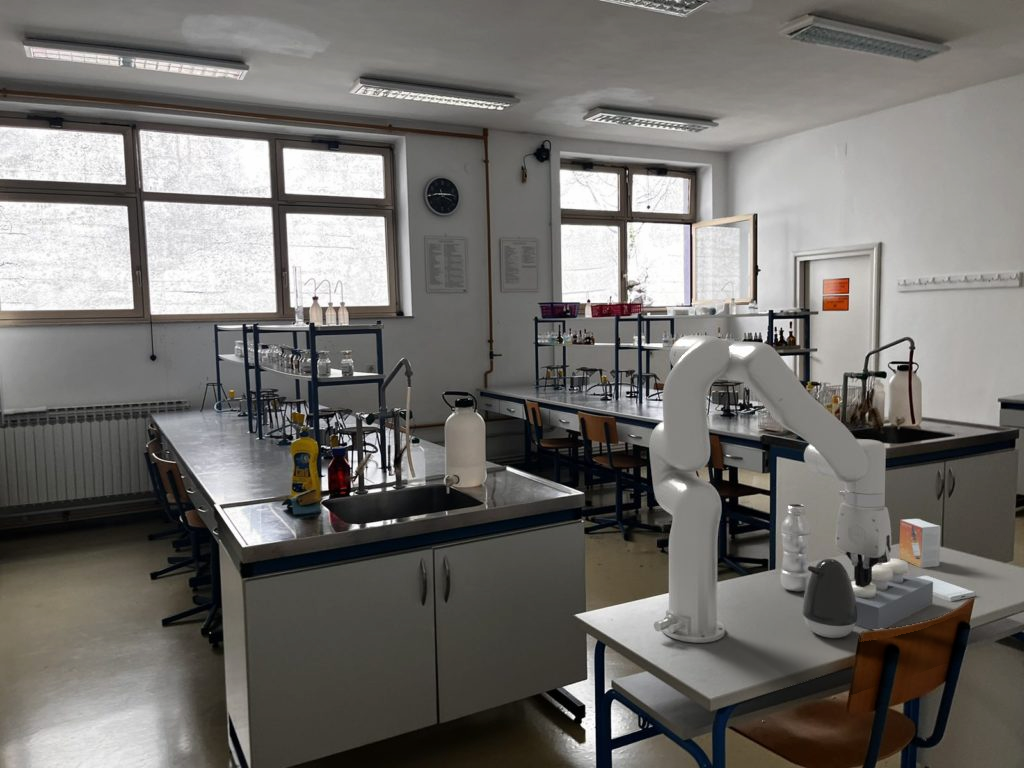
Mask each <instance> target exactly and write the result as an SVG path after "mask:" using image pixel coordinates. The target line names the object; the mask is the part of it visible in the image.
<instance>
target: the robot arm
mask: <svg viewBox="0 0 1024 768" xmlns="http://www.w3.org/2000/svg"><path fill="white" fill-rule="evenodd" d="M669 360H670V364H671V365H672V369H671V370H670V372H669V373H668V375H667V377H666V380H665V381H664V385H663V390H662V417H663V418H662V420H663V421H661V422H659V423H658V424H657V425H656V426H655V427H654V429H653V430H652V432H651V435H650V438H649V446H648V447H649V449H648V450H649V461H650V469H651V477H652V478H651V479H652V487H653V493H654V497H655V500H656V502H657V503H658V504H659V506H660V507H661V508H662V509H663V510H664V511H666V513H668V514H669V515H671V517H672V521H671V522H672V523H671V528H670V531H669V532H670V533H669V538H668V610H666V611H665V617H663V619H661V620H658V621H655V622H654V623H653V628H654V630H655V631H656V632H658V633H659V632H662V633H664V634H665V635H666V636H667V637H669V638H672V639H674V640H677V641H680V642H685V643H692V644H693V643H696V644H697V643H699V644H701V643H702V644H704V643H712V642H715V641H717V640H720V639H721V638H723V637H724V636H725V633H726V631H725V630H726V628H725V625H724V624H723V622H721V621H720V620H718V538H719V537H718V536H719V528H720V527H719V526H720V521H721V516H722V511H723V510H722V500H721V496H720V494H719V492H718V491H717V489H716V487H714V485H712V484H711V482H708V481H707V480H705V479H704V478H702V477H700V476H697V475H696V472H697V471H700V470H702V469H704V468H705V467H706V465H707V464H708V462H709V461H710V457H711V442H710V432H709V425H708V424H709V423H708V413H707V411H708V410H707V400H708V399H707V398H708V393H709V390H710V388H711V387H712V385H713V384H714V382H715V381H716V380H723V381H733V382H734V381H735V382H742V383H745V384H746V385H747V386H748V387H749V389H750V390H751V392H752V393H753V394H754V395H755V397H756V398H757V399H758V401H759V402H760V404H761V405H762V406H763V407H764V408H765V410H766V411H767V412H768V413H769V415H770V416H771V417H772V418H773V420H775V421H776V423H778V424H779V425H781V427H784V428H785V429H787V430H788V431H791V432H792V433H794V434H796V435H797V436H799V437H800V438H801V439H803V440H804V441H806V442H807V443H808V445H807V446H806V447H805V450H804V452H803V460H804V462H805V465H806V466H807V468H809V469H810V470H811V471H812V472H814V473H816V474H818V475H820V476H824V477H827V478H830V479H834V480H837V481H839V482H842V483H844V484H845V485H844V486H845V487H844V489H840V490H839V496H841V497H843V498H844V499H843V502H841V503H840V505H839V510H838V513H837V519H836V527H835V538H834V539H835V541H834V543H835V547H836V548H837V551H838V552H839V553H840V554H843V555H844V556H846V557H847V558H848V559H849V560H850V561H851V565H852V566H853V568H854V570H853V571H854V572H853V573H854V575H853V579H855V585H857V586H859V585H860V586H861V587H865V586H867V585H870V583H871V581H872V567H873V566H875V565H878V564H882V563H887V562H890V558H891V556H890V553H891V550H892V527H891V520H890V513H889V510H888V507H886V506H885V502H886V501H885V498H886V497H885V495H886V491H885V490H886V458H887V457H886V455H887V451H886V445H885V444H884V443H883V442H882V441H880V440H875V439H865V438H864V439H862V438H860V439H859V438H858V439H857V438H856V437H855V436H854V435H853V433H852V432H851V431H850V430H849V428H847V426H846V425H845V424H844V423H842V421H840V419H838V418H837V417H836V416H835V415H834V414H833V413H831V411H829V410H828V409H827V408H825V407H824V405H822V404H821V403H820V402H819V401H817V400H816V399H815V397H813V396H812V395H811V394H810V393H809V392H808V390H807V389H806V388H805V387H804V385H803V384H802V382H801V381H800V380H799V379H798V377H797V376H796V375H795V373H794V372H793V371H792V370H791V368H790V367H789V365H788V364H787V362H785V360H784V359H783V358H782V356H781V355H780V354H779V353H778V351H777V350H776V349H775V348H774V347H773V346H772V345H770V344H767V343H766V342H759V341H739V340H736V341H735V340H727V339H726V340H724V339H722V338H720V337H718V336H715V335H713V336H712V335H703V334H702V335H697V334H696V335H694V334H690V335H685V336H682V337H680V338H678V339H677V340H676V341H675V342H674V343H673V344H672V345H671V348H670V352H669Z"/></svg>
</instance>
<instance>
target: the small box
mask: <svg viewBox="0 0 1024 768" xmlns="http://www.w3.org/2000/svg"><path fill="white" fill-rule="evenodd" d="M899 527H900V528H899V551H898V552H899V553H898V559H900V560H904V561H906V562H908V564H912V565H913V566H916V567H918V568H920V569H923V568H933V567H939V566H940V558H941V557H940V553H941V533H942V532H941V529H942V527H941V525H939V524H935V523H931V522H928V521H925V520H923V519H920V518H908V519H907V518H906V519H900V525H899Z"/></svg>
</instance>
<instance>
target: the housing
mask: <svg viewBox="0 0 1024 768" xmlns="http://www.w3.org/2000/svg"><path fill="white" fill-rule="evenodd" d="M850 581H851V582H852V581H855V579H854V578H852V579H850ZM933 597H934V595H933V581H929V580H925V579H921V578H916V576H911V575H909V574H905V573H904V574H903V583H902V584H897V583H893V582H889V581H888V589H887V590H886V591H884V592H883V591H880V590H876V596H875V597H872V598H869V599H864V598H861V597H857V596H855V599H856V606H857V621H856V622H855V625H854V626H857V627H861V628H864V629H867V630H870V629H880V628H885V629H887V628H889V627H891V626H893V625H895V624H897V623H898V622H900V621H902V620H904V619H906V618H907V617H910V616H911V615H913V614H915V613H918V612H919V611H922V610H923V609H925V608H927V607H929V606H931V605H933ZM886 627H887V628H886Z"/></svg>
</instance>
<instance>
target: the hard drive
mask: <svg viewBox="0 0 1024 768" xmlns="http://www.w3.org/2000/svg"><path fill="white" fill-rule="evenodd" d="M915 577H916V576H915ZM916 578H921V579H925V580H929V581H933V597H936V598H937V597H938V598H940V599H943V600H946V601H949V602H955V601H959V600H964V599H969V598H972V596H973V597H976V596H977V594H976V591H973V590H970V589H967V588H963V587H962V586H959V585H955V584H953V583H950V582H946V581H943V580H941V579H938V578H935V577H932V576H929V575H922V576H917V577H916ZM975 595H976V596H975Z"/></svg>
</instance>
